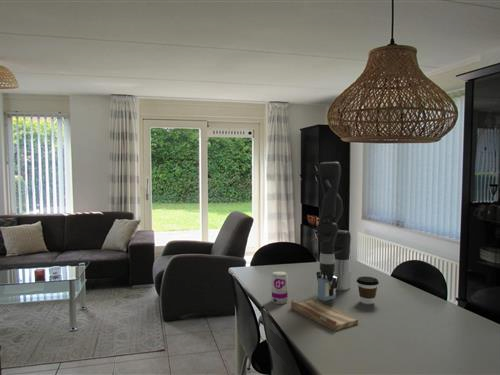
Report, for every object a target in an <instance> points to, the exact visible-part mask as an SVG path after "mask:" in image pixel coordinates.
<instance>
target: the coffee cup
mask: <svg viewBox="0 0 500 375" xmlns="http://www.w3.org/2000/svg"><path fill="white" fill-rule="evenodd" d="M356 283H357V287H358V294H359V300H360V303H361V304H364V305H372V304H374V303H375V298H376V295H377V291H378V290H377V289H378V285H379V283H380V282H379V280H378V279H377V278H376V277H372V276H359V277H357V279H356Z"/></svg>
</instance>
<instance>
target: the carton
mask: <svg viewBox="0 0 500 375" xmlns="http://www.w3.org/2000/svg"><path fill="white" fill-rule="evenodd" d="M331 282H332V281H330V283H331ZM331 286H332V284H331ZM336 298H337V290H336V288H335V289H334V294H333V296H329V284H328V280H326V279H322V278H320V279H318V280H317V299H319V300H322V301H324V302H325V301H329V300H333V299H336Z"/></svg>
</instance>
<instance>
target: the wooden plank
mask: <svg viewBox="0 0 500 375" xmlns="http://www.w3.org/2000/svg"><path fill="white" fill-rule="evenodd" d="M290 302H291V304H290V309H291V310H292V311H295V312H297V313H299V314H300V315H303V316H305V317H307V318H308V319H311V320H312V321H314V322H316V323H318V324H320V325H322V326H324V327H326V328H328V329H330V330H332V331H335V332H336V331H339V330H342V329H345V328H349V327H353V326H356V325H358V324H359V319H358V318H356V317H353V316H351V315H349V314H347V313H344V312H343V311H340V310H338V309H335V308H334V307H331V306H329V305H326V304H323V303H322V302H320V301H317V300H315V299H310V300H306V301H303V302H296V301H294V300H291V301H290Z"/></svg>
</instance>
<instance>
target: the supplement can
mask: <svg viewBox="0 0 500 375" xmlns="http://www.w3.org/2000/svg"><path fill="white" fill-rule="evenodd" d="M288 278H289V276H288V274H287V272H286V271H283V270H277V271H276V270H275V271H274V272H272V274H271V302H272V303H273V304H276V305H284V304H286V303H287V302H288V300H289V299H288V296H289V294H288V293H289V292H288V291H289V290H288V289H289V288H288V287H289V283H288V282H289V281H288V280H289V279H288Z"/></svg>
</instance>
